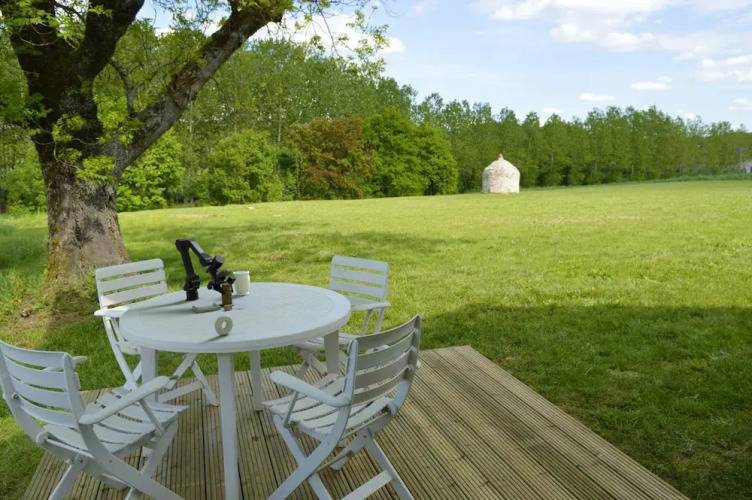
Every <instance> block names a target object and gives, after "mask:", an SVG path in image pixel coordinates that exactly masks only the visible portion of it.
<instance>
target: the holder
mask: <svg viewBox="0 0 752 500" xmlns="http://www.w3.org/2000/svg"><path fill="white" fill-rule="evenodd" d="M191 310H193V311H195V312H196V313H197V314H201V313H203V314H204V313H209V312H214V311H221V306H220V304H219V305H218V304H217V303H216V302H212V304H210V305H203V306H195V305H191Z"/></svg>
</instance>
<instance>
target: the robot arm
mask: <svg viewBox="0 0 752 500" xmlns="http://www.w3.org/2000/svg"><path fill="white" fill-rule="evenodd" d="M174 245H175V249H176V250H177V251H178V252H179V253H180V256H181V260H182V263H183V267H184V270H185V275H186V277H185V284H184V285H183V287H182V289H183V292H185V297H186V299H185V301H196V300H198V299H200V297H199V291H198V290H199V289H200V287H201V279H200V275H199V274H196V272H195V270H194V266H193V262H192V259H191V255H190V250H191V251H192V252H193V253H194V254H195V256H196V257H197V258H198V262H199V264H200V265H201V267H202V268H206V269H205V273H206V274H209V275H210V277H211V280H210V281H209V282H208V283H207V284H206V289H207V290H208V291H210V290H212V291H215V292H217V293H220V295H221V294H223V295H225V292H224V290H223V289H222V286H221V285H222V284H230V286H231V290H232V294H233V293H234V287H233V285H234V281H235V280H236V278H235V276H234V275H231V276H230V274H232V272H231V270H230V269H229V268H226V269H225V270H221V271H220V270H219V269H221V268H222V266H223V265H224V264H225V261H226V260H225V258H224V257H222V256H220V255H219V254H215V255H214V257H213V256H212V255H210V254H208V253H206V252H205V251H204V250H203V249H202V247H201V246H200V245H199V243H197V242H196V238H195V239H194V238H186V237H185V238H177V239H175V242H174Z"/></svg>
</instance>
